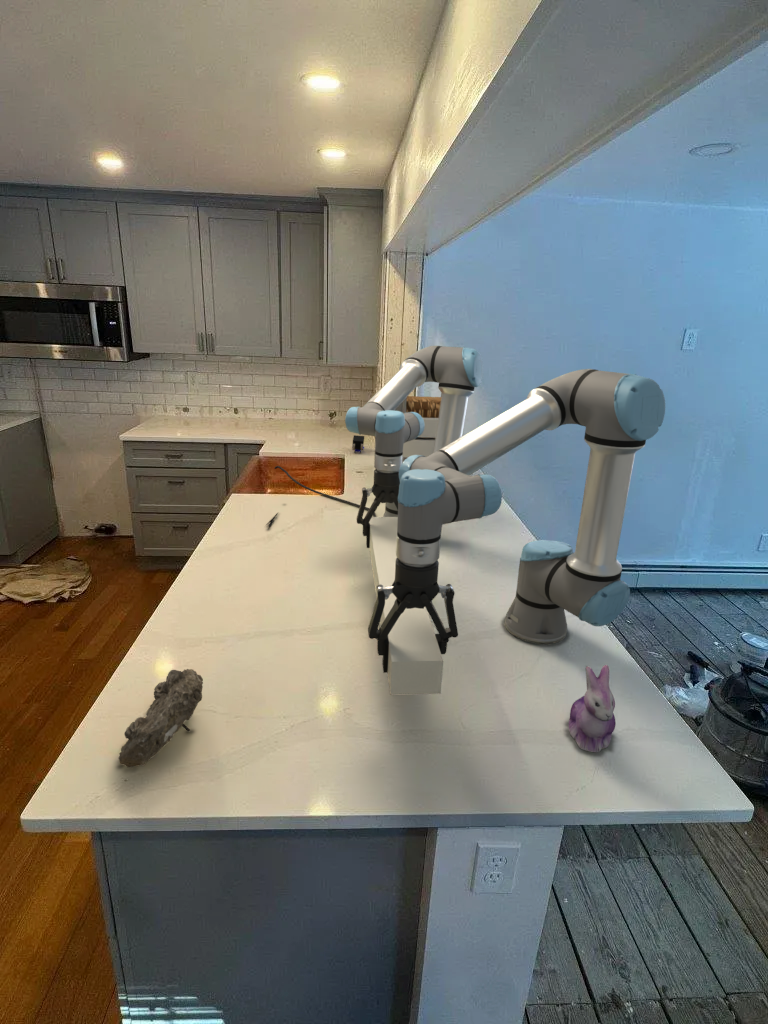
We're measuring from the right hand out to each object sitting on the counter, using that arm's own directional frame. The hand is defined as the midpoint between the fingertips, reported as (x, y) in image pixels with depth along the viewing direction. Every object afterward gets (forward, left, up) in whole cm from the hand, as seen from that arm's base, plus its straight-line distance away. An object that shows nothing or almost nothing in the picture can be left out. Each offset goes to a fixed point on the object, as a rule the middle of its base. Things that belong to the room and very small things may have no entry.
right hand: (410, 667), depth 106 cm
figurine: (-21, +28, -12) cm, 37 cm away
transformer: (-136, -111, -12) cm, 176 cm away
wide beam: (-19, -21, -1) cm, 29 cm away
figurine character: (-143, -161, -12) cm, 215 cm away
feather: (-48, -106, -12) cm, 117 cm away
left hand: (-38, -43, 0) cm, 58 cm away
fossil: (+34, -29, -12) cm, 46 cm away
